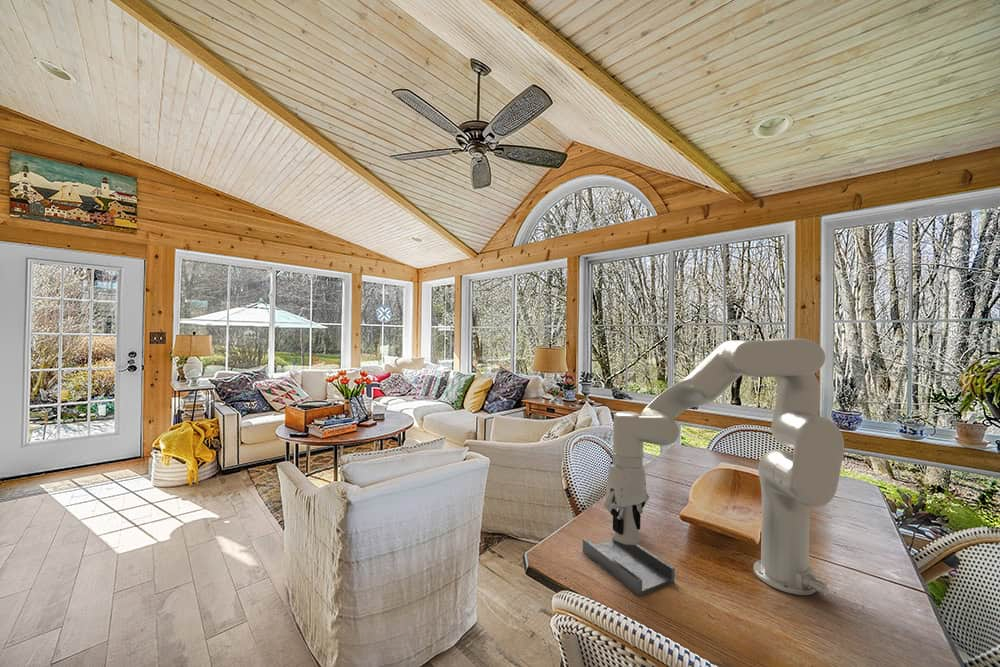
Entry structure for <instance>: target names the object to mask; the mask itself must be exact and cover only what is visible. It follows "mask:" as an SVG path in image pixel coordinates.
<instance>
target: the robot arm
mask: <svg viewBox="0 0 1000 667" xmlns="http://www.w3.org/2000/svg"><path fill="white" fill-rule="evenodd" d="M825 353H826V352H825V350H824V349H823V348H822V346H821V345H820V344H818V343H817V342H816V341H814V340H811V339H808V338H789V337H786V338H785V337H777V338H774V337H773V338H769V339H765V340H752V339H751V340H748V339H747V340H745V339H743V340H742V339H730V340H726V341H724V342H722V343H720V344H719V345H718V346H717V347H716V348H715V349H714V350H712V352H711V353H709V355H707V356H706V358H704V359H703V360H702V361H701V362H700V363H699V364H698V365H697V366H696V367H695V368H694V369H693V370H692V371H691V372H690V373H688V374H687V375H686V376H685V377H684V378H682V379H680V380H679V381H678V382H676V383H675V384H673V385H671V386H670V387H668V388H666V389H665V390H664V391H662V392H661V393H660V394H658V395H657V396H656V397H655V398H654V399H653V400H651V402H649V404H648V405H646V406H645V407H644V408H643V410H642V411H641V412H640V413H638V412H634V411H629V410H628V411H627V410H626V411H625V410H624V411H623V410H622V411H617V412H616V413H615V414H614V416H613V423H612V424H613V430H612V431H613V432H612V434H613V436H612V437H613V438H612V463H611V464H610V465H609V469H608V474H607V480H606V481H607V482H606V492H605V494H606V495H605V496H606V498H605V499H606V500H605V501H604V503H603V507H604V509H605V510H607V511H608V512H609V513H610V515H611V516H612V531H613V530H614V531H615V532H617V533H618V534H620V535H623V526H624V520H623V519H622V514H623V510H624V507H628V506H632V512H633V518H634V521H635V524H636V528H637V531H640V530H641V518H642V516H641V515H642V514H643V509H644V507H645V506H646V503H647V502H648V500H650V496H649V494H648V492H647V480H646V479H647V478H646V470H645V465H644V457H645V455H644V443H647V444H651V445H655V446H665V447H666V446H669V445H672V444H674V443H675V442H676V441H677V440H678V438H679V436H680V429H679V426H678V424H677V423H676V421H675V419H676V418H677V417H678V416H679V415H680V414H682V413H684V412H685V411H687V410H689V409H691V408H695V407H698V406H704V405H707V404H711V403H712V402H714V401H716V400H717V399H718V398H719V397H720V396H721V395H722V394H723V393H725V391H726V390H727V389H729V387H730V386H731V385H732V384H733V383H734V382H735V381H737V380H738V378H739V377H741V376H746V377H751V378H753V377H755V378H760V377H761V378H774V380H775V383H776V396H775V403H774V408H773V409H774V410H773V414H772V421H771V433H772V434H771V435H772V437H773V438H774V439H775V441H777V442H778V443H780V444H782V445H783V446H785V447H787V448H790V449H791V450H793V452H791V451H788V450H784V449H772V450H769V451H767V452H765V453H763V455H762V456H761V457H760V459H759V462H758V477H759V482H760V488H761V533H760V534H761V536H760V537H761V539H760V542H761V544H760V547H761V548H760V560H757V561H755V562H754V563H753V572H754V574H755V575H756V577H758V579H759V580H761V581H762V582H764V584H767V585H768V586H770V587H772V588H773V589H776V590H779V591H781V592H784V593H788V594H793V595H797V596H811V595H813V594H815V593H816V592H817V593H819V594H821V595H823V596H825V597H826V596H828V594H829V587H828V586H827V585H828V582H826V581H825V580H823V579H819V578H817V577H816V575H815V574H814V572H815V571H814V570H815V569H814V568H812V567H811V566H809V565H810V564H809V563H810V562H809V559H810V558H809V557H810V556H809V555H810V508H822V507H824V506H826V505H828V504H829V503H830V502H831V501H833V499H834V498H835V494H836V493H837V489H838V486H839V485H838V484H839V480H840V474H841V471H842V470H841V469H842V463H843V458H844V457H843V456H844V452H845V440H844V436H843V434H842V431H841V430H840V427H838V426H837V424H835V422H833V421H831V420H830V419H828V418H825V417H824V416H820V415H819V409H820V401H821V400H820V399H821V388H820V383H819V380H818V378H817V376H816V374H815V373H816V372H818V371H819V370H820V369H822V367H823V366H824V364H825V361H826V354H825ZM617 507H618V508H619V510H618V512H617V511H616V510H617ZM809 507H810V508H809Z"/></svg>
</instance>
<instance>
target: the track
mask: <svg viewBox="0 0 1000 667" xmlns="http://www.w3.org/2000/svg"><path fill="white" fill-rule="evenodd" d="M583 552H584V554H585V555H586V556H587V557H588V556H589V557H588V558H590V559H591V560H592V561H593V562H594V563H596V564H598V566H599V567H601V568H602V569H603V570H604V571H606V572H607V573H609V575H611V576H612V577H613V578H614V579H616V580H617V581H619V582H620V583H621V584H622V585H624V586H625V587H626V588H627V589H628V590H629V591H631V592H632V593H634V594H635V595H636V596H637V597H642V596H644V595H645V594H646V595H647V594H648V593H652V592H654V591H657V590H659V589H661V588H663V587H666V586H668V585H669V586H670V585H671V584H673V583H675V581H676V580H675V574H676V568H675V567H674V566H673V565H672V564H670V563H668V562H667V561H665V560H663V559H661V557H659V556H658V555H656V554H654V553H652V552H651V551H650V550H648V549H646V548H645V547H643V546H641V545H640V544H639V543H638V544H637V545H626V544H622V543H620V542H617V541H615V540H614V539H613V538H612V539H610V540H606V541H603V542H599V543H596V544H594V543H592V541H590V540H589V539H587V538H583V539H582V553H583Z"/></svg>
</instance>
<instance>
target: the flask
mask: <svg viewBox="0 0 1000 667" xmlns="http://www.w3.org/2000/svg"><path fill="white" fill-rule="evenodd" d="M622 519H623V520H624V526H623V535H620V534H618V533H617V532H615V531H614V530H613V529H612V533H611V536H612V539H614V540H615V541H617V542H620V543H622V544H626V545H637V544H638V545H639V544H640V542H641V541H642V540H641V536H640V534H639V530H637V528H636V524H635V521H634V518H633V512H632V506H628V507H624V510H623V514H622Z"/></svg>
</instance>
